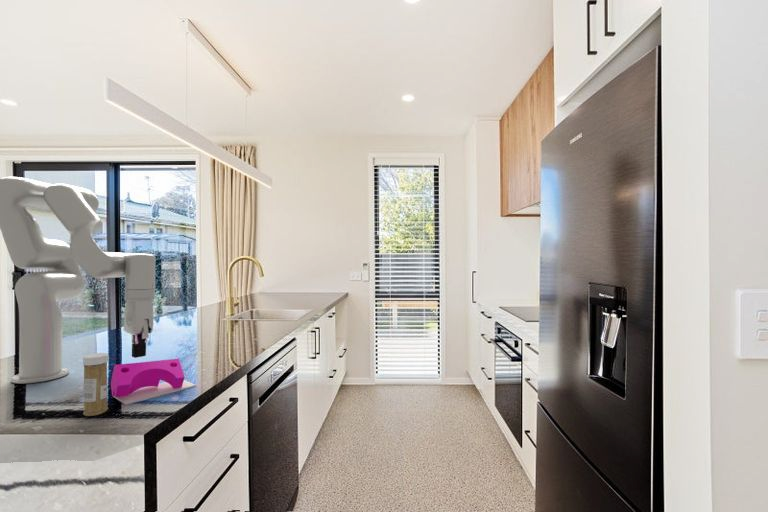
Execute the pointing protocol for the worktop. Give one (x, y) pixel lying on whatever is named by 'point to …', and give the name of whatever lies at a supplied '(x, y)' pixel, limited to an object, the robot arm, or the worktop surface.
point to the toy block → (145, 376)
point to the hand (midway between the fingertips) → (138, 356)
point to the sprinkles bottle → (95, 384)
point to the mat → (152, 392)
